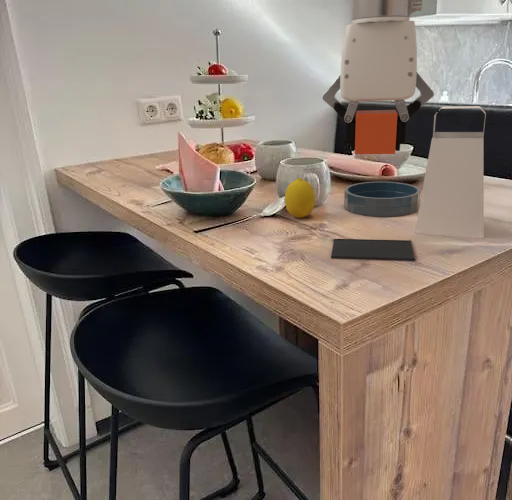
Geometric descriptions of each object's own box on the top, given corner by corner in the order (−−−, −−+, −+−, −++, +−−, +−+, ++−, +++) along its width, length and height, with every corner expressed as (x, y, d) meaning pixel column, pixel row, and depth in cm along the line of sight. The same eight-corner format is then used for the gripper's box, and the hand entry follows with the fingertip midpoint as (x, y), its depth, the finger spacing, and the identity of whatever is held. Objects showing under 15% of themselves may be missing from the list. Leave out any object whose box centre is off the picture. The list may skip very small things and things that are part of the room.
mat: (409, 240, 80) (409, 238, 80) (414, 261, 72) (415, 258, 72) (334, 238, 83) (334, 236, 83) (331, 258, 75) (331, 255, 74)
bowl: (415, 200, 103) (416, 181, 102) (422, 220, 90) (424, 198, 89) (345, 200, 106) (346, 181, 105) (342, 219, 93) (343, 198, 92)
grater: (420, 218, 91) (428, 105, 85) (483, 222, 88) (496, 104, 81) (414, 236, 82) (422, 110, 76) (483, 241, 78) (498, 109, 72)
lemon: (301, 214, 98) (300, 173, 95) (321, 220, 93) (321, 177, 91) (279, 220, 95) (278, 178, 92) (298, 226, 90) (297, 182, 88)
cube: (393, 148, 74) (395, 109, 72) (395, 154, 69) (397, 113, 67) (355, 148, 75) (356, 110, 74) (354, 154, 70) (355, 114, 69)
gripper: (444, 10, 68) (433, 145, 74) (317, 18, 71) (317, 146, 77) (453, 4, 61) (440, 153, 67) (312, 13, 64) (312, 154, 71)
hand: (374, 148), depth 72 cm, fingers closed on cube, 5 cm apart
